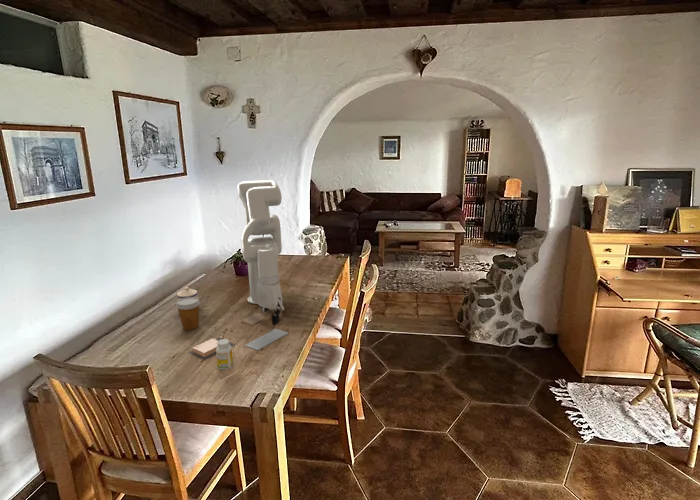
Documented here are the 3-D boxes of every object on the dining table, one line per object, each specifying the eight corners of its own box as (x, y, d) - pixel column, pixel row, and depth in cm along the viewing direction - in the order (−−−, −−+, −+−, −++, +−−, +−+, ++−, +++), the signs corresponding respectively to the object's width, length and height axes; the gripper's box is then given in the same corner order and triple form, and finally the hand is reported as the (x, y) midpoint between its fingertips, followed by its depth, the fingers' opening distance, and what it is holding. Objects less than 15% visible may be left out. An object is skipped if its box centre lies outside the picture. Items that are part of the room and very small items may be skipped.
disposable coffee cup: (207, 323, 179) (204, 298, 176) (192, 333, 170) (189, 306, 167) (189, 320, 182) (186, 295, 179) (174, 330, 174) (170, 303, 170)
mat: (219, 338, 166) (219, 337, 166) (235, 345, 160) (235, 344, 160) (188, 353, 155) (188, 352, 155) (205, 361, 149) (204, 360, 149)
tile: (212, 338, 161) (192, 347, 154) (224, 343, 157) (203, 353, 150) (213, 342, 162) (192, 352, 155) (224, 347, 158) (204, 357, 151)
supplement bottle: (223, 372, 142) (220, 347, 139) (214, 366, 145) (211, 342, 143) (236, 365, 146) (234, 341, 143) (227, 360, 149) (225, 336, 147)
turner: (273, 317, 169) (272, 306, 168) (284, 321, 166) (283, 309, 165) (242, 332, 156) (241, 320, 155) (253, 336, 153) (252, 324, 152)
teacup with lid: (192, 315, 187) (189, 291, 184) (174, 314, 189) (171, 290, 186) (206, 305, 199) (204, 282, 196) (189, 304, 200) (186, 281, 197)
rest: (276, 329, 173) (276, 328, 173) (288, 334, 169) (288, 332, 169) (244, 346, 159) (244, 344, 159) (257, 351, 155) (257, 350, 155)
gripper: (246, 277, 162) (250, 320, 166) (277, 285, 152) (280, 331, 157) (261, 272, 167) (264, 314, 172) (291, 280, 158) (293, 324, 163)
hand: (271, 322), depth 164 cm, fingers closed on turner, 4 cm apart
